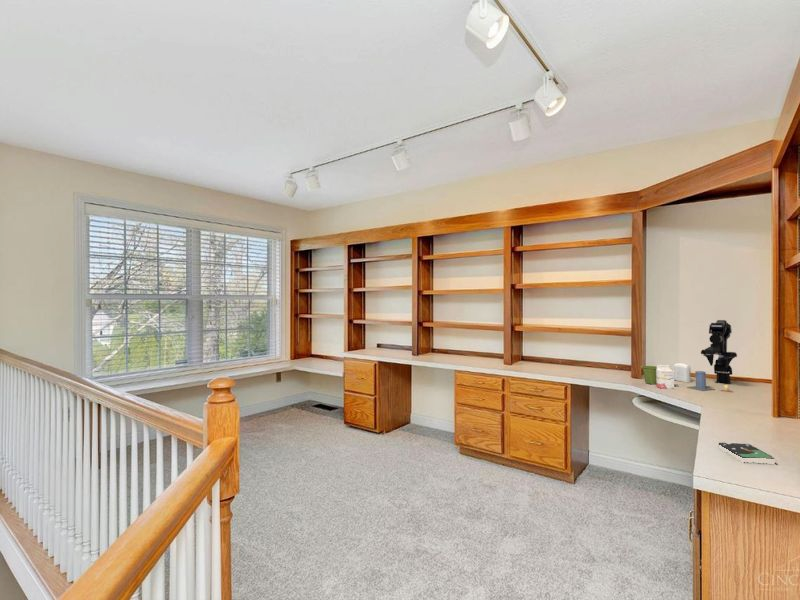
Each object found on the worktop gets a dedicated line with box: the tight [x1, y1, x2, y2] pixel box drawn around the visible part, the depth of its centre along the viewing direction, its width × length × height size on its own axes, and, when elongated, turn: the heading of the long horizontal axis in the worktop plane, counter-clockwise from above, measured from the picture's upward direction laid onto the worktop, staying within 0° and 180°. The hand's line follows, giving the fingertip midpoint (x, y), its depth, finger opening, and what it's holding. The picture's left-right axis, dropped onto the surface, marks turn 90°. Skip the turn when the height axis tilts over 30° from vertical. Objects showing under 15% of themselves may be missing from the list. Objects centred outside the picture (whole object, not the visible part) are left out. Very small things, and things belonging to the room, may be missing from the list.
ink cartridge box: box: [656, 364, 675, 390], centre depth 256 cm, size 9×5×15 cm, turn 77°
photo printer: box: [673, 362, 692, 383], centre depth 275 cm, size 10×4×12 cm, turn 17°
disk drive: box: [718, 442, 776, 460], centre depth 145 cm, size 10×3×15 cm
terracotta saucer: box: [718, 384, 735, 394], centre depth 238 cm, size 7×7×5 cm
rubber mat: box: [686, 385, 716, 392], centre depth 247 cm, size 10×10×2 cm
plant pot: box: [640, 365, 657, 385], centre depth 271 cm, size 12×12×11 cm
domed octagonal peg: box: [695, 370, 707, 389], centre depth 247 cm, size 5×5×10 cm
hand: (718, 366), depth 254 cm, fingers open, 9 cm apart
